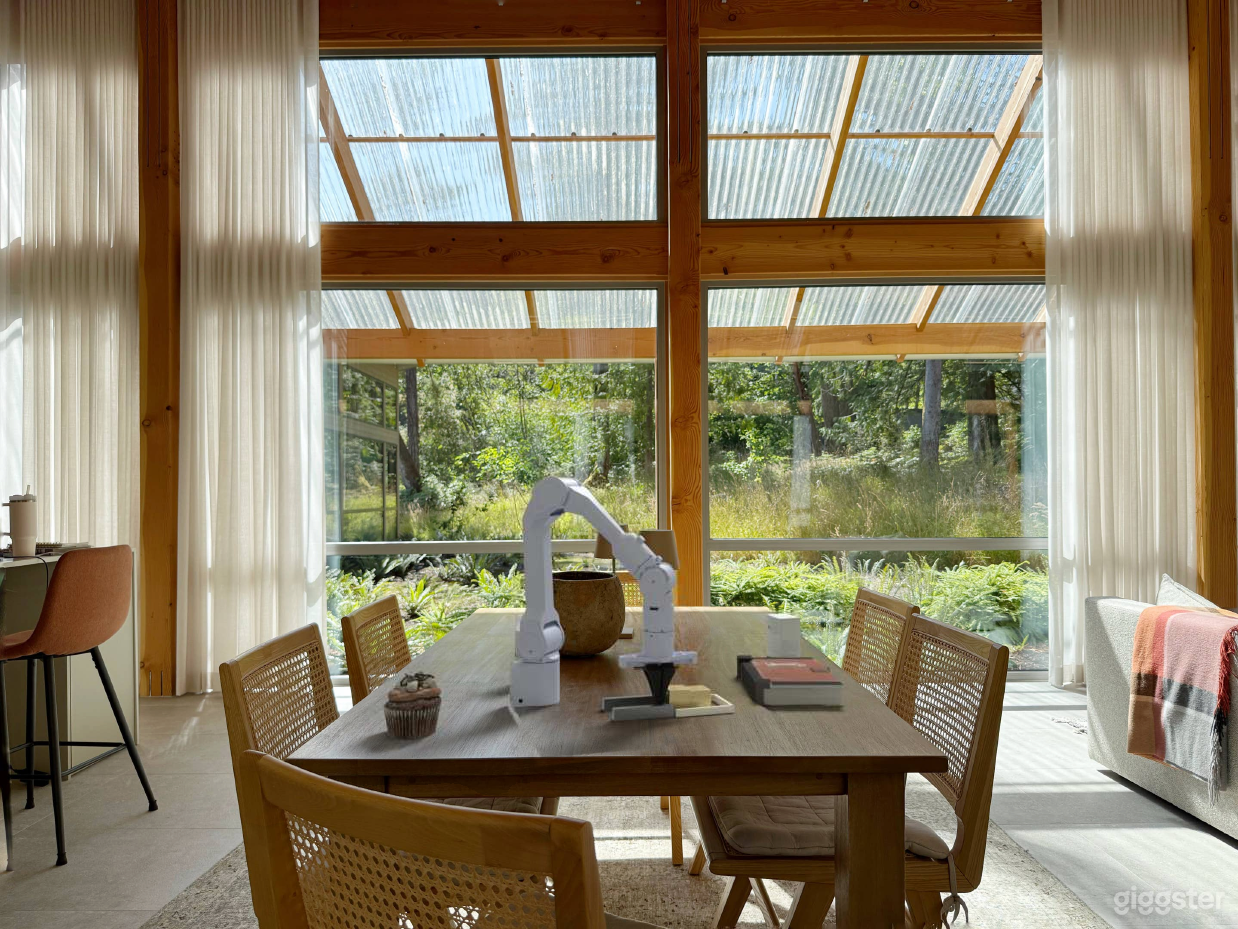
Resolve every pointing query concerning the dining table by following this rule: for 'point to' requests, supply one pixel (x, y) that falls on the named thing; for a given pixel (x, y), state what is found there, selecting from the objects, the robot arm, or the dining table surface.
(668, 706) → the rail
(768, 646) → the small box
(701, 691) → the brass chip
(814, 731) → the dining table surface
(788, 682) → the book
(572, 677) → the dining table surface
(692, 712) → the tray
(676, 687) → the brass chip
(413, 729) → the cupcake
